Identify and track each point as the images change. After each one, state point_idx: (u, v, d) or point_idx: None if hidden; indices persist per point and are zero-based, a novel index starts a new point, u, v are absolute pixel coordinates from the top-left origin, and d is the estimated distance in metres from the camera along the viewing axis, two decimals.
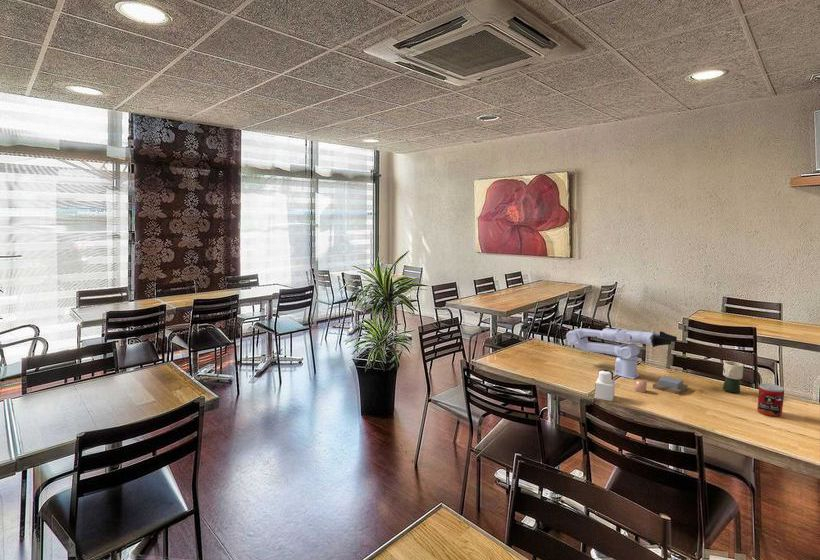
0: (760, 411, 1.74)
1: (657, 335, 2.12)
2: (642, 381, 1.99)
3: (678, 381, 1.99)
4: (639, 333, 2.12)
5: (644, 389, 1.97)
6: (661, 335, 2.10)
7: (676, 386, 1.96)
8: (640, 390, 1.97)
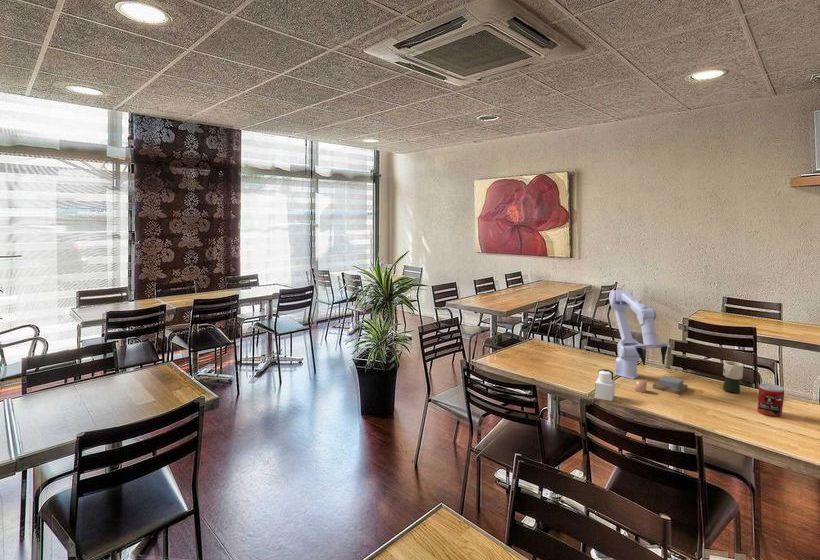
0: (760, 411, 1.74)
1: (662, 345, 1.96)
2: (642, 381, 1.99)
3: (678, 381, 1.99)
4: (648, 332, 1.98)
5: (644, 389, 1.97)
6: (661, 349, 1.96)
7: (676, 386, 1.96)
8: (640, 390, 1.97)
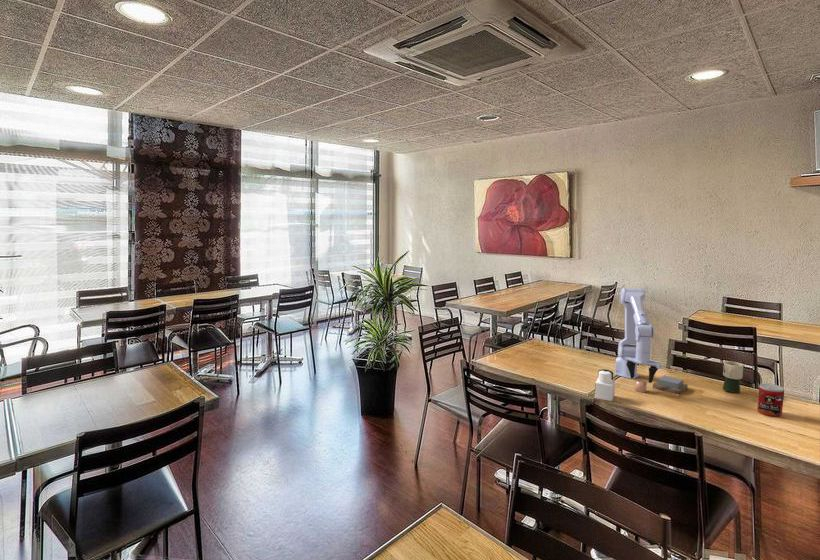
0: (760, 411, 1.74)
1: (652, 364, 1.94)
2: (642, 381, 1.99)
3: (678, 381, 1.99)
4: (640, 350, 1.95)
5: (644, 389, 1.97)
6: None
7: (676, 386, 1.96)
8: (640, 390, 1.97)
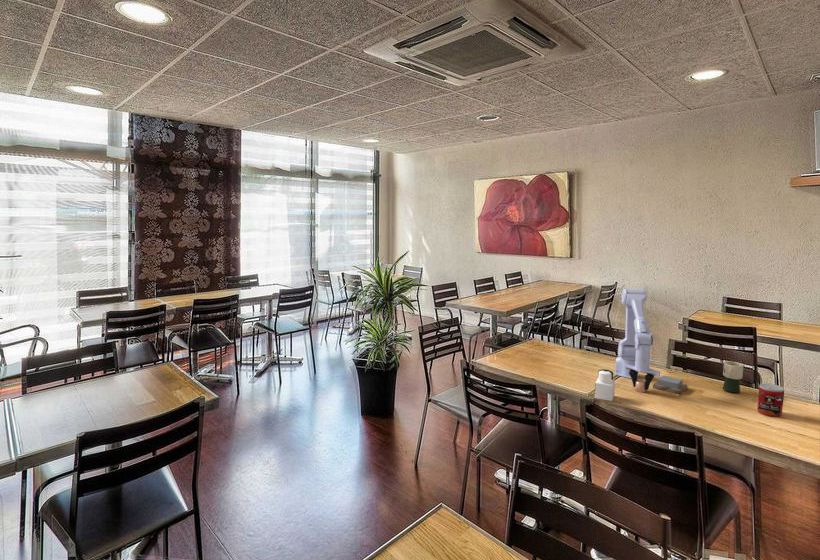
0: (760, 411, 1.74)
1: (652, 372, 1.94)
2: (642, 381, 1.99)
3: (678, 381, 1.99)
4: (640, 358, 1.95)
5: (644, 389, 1.97)
6: None
7: (676, 386, 1.96)
8: (640, 390, 1.97)
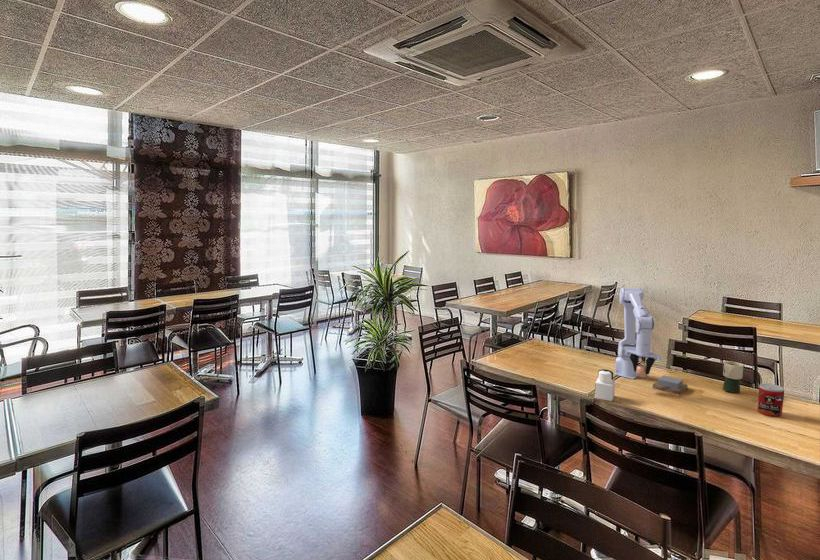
0: (760, 411, 1.74)
1: (653, 356, 1.93)
2: (643, 365, 1.98)
3: (678, 381, 1.99)
4: (641, 342, 1.95)
5: (645, 373, 1.96)
6: None
7: (676, 386, 1.96)
8: (641, 374, 1.96)
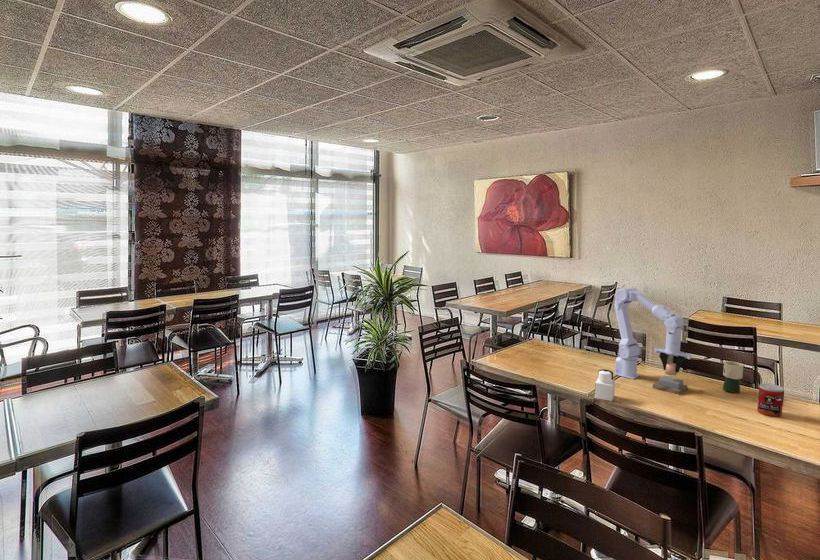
0: (760, 411, 1.74)
1: None
2: (672, 364, 2.00)
3: (678, 381, 1.99)
4: (676, 341, 1.96)
5: (674, 372, 1.99)
6: None
7: (677, 386, 1.96)
8: (670, 373, 1.99)
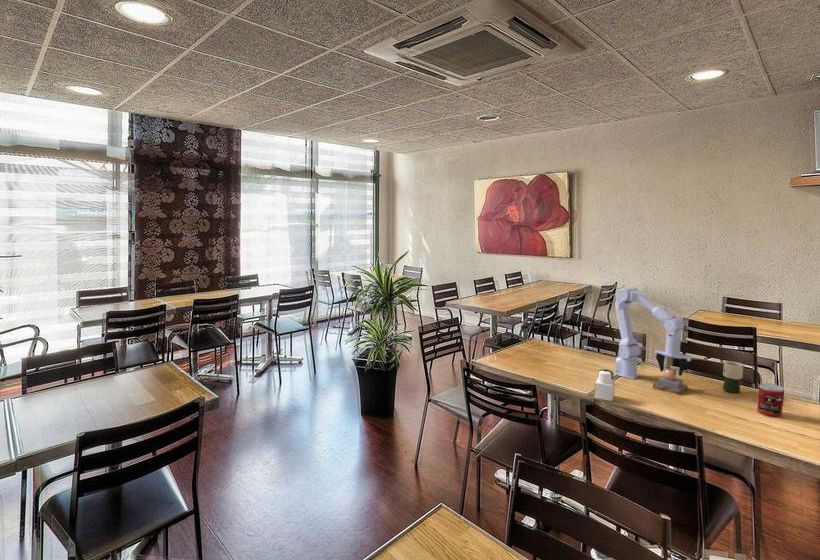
0: (760, 411, 1.74)
1: (682, 357, 1.96)
2: (671, 370, 2.01)
3: (678, 381, 1.99)
4: (676, 344, 1.97)
5: (673, 377, 1.99)
6: None
7: (677, 386, 1.96)
8: (669, 378, 2.00)
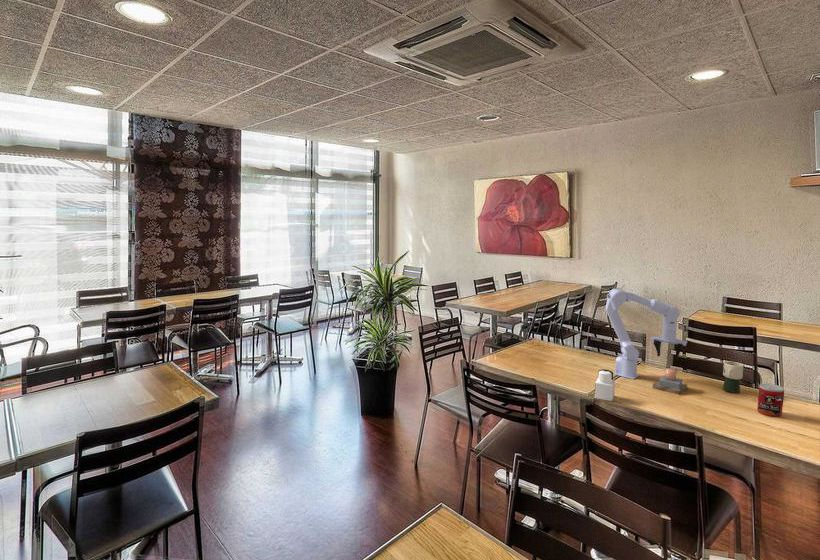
0: (760, 411, 1.74)
1: (679, 342, 2.10)
2: (672, 369, 2.01)
3: (678, 381, 1.99)
4: (675, 329, 2.11)
5: (674, 377, 1.99)
6: None
7: (678, 386, 1.96)
8: (670, 378, 1.99)
